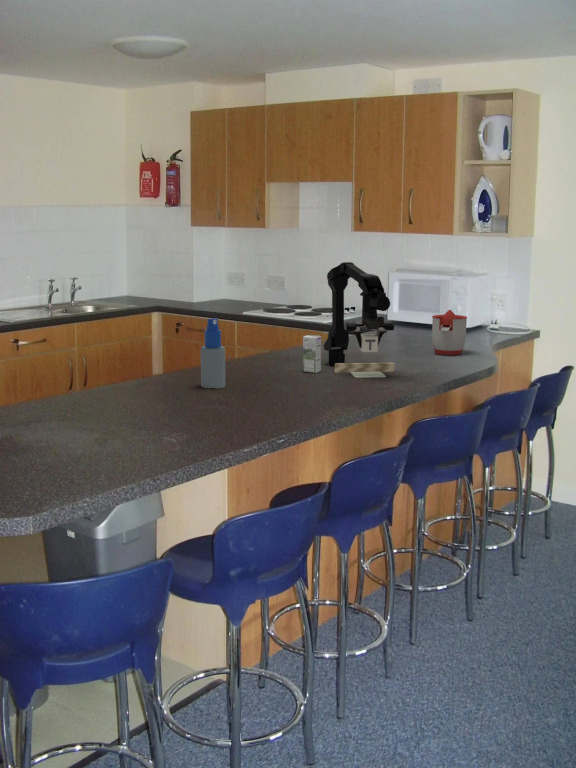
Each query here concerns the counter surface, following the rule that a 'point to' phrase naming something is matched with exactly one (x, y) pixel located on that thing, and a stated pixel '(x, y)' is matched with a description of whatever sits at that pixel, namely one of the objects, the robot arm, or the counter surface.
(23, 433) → the counter surface
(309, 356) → the syrup box
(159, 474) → the counter surface
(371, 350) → the letter cube
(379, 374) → the sage mat
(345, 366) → the birch screen
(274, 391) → the counter surface
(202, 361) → the spray bottle
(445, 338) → the citrus juicer
